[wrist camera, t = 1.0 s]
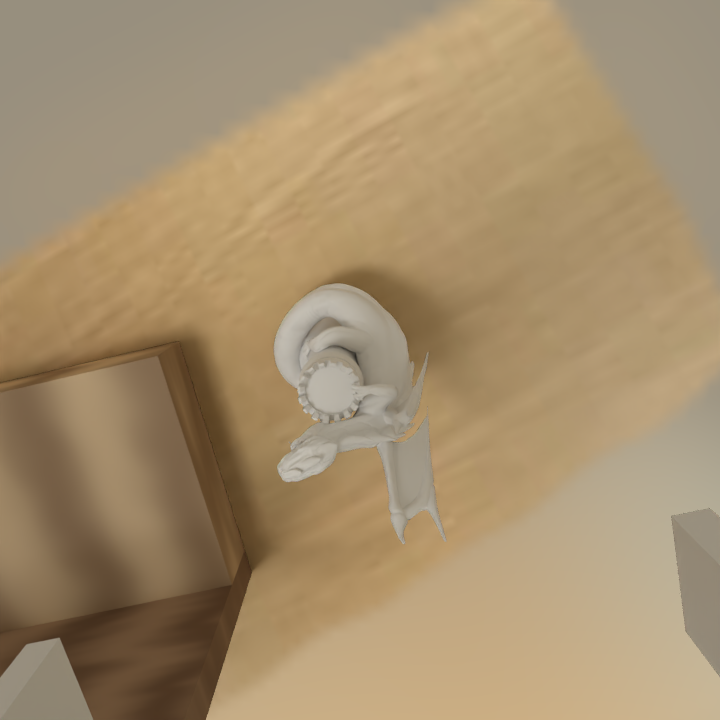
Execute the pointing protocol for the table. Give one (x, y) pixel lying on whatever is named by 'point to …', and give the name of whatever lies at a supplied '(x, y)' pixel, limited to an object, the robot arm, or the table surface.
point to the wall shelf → (118, 534)
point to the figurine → (356, 394)
